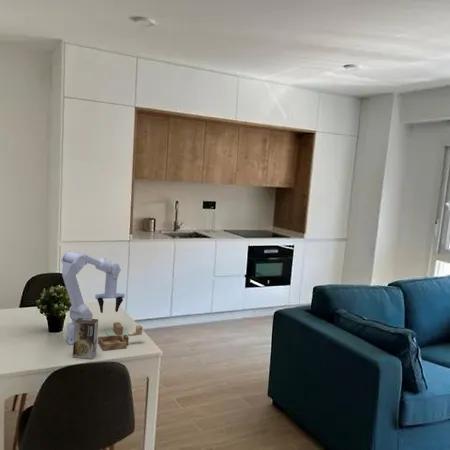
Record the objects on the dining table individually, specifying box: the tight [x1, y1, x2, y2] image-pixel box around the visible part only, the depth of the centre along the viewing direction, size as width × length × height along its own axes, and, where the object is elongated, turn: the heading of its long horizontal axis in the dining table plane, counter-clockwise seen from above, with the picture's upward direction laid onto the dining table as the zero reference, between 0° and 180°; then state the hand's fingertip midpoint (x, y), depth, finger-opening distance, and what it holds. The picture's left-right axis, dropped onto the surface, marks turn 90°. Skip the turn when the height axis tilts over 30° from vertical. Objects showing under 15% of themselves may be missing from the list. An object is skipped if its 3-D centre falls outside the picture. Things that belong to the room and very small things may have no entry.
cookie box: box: [72, 318, 99, 360], centre depth 198 cm, size 9×6×16 cm
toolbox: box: [97, 335, 130, 351], centre depth 213 cm, size 13×10×4 cm
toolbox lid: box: [104, 321, 130, 337], centre depth 229 cm, size 11×10×5 cm
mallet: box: [128, 324, 143, 337], centre depth 218 cm, size 6×3×4 cm, turn 119°
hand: (109, 311), depth 230 cm, fingers open, 7 cm apart
